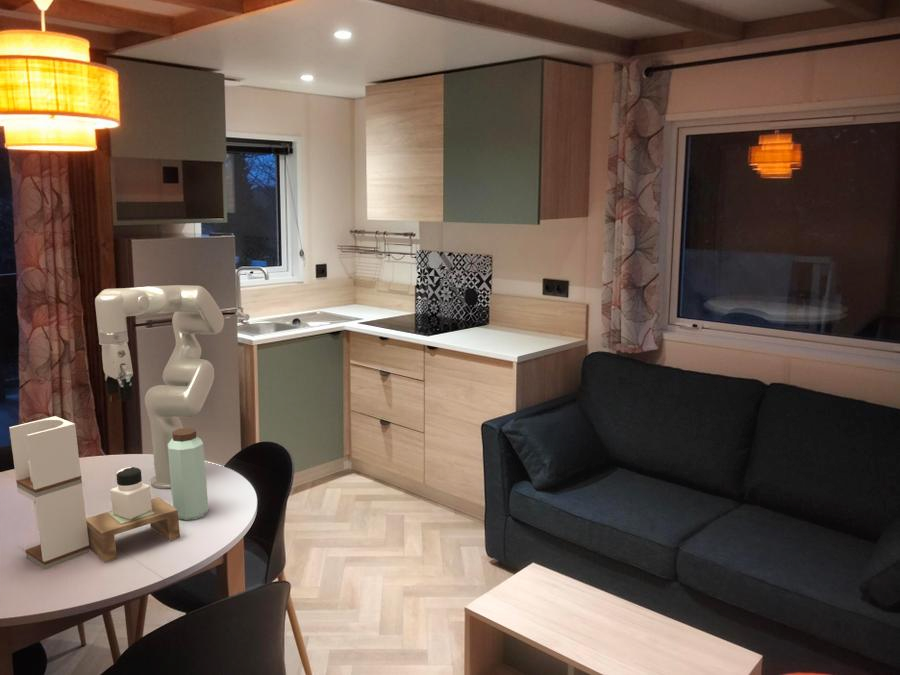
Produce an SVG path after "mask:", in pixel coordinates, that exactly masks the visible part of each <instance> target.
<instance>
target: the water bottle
mask: <svg viewBox="0 0 900 675" xmlns="http://www.w3.org/2000/svg"><path fill="white" fill-rule="evenodd" d="M204 451H205V450H204V443H203V440H202V439H201V438H200V437H198V436H197V430H196V429H195V428H193V427H183V428H182V429H177V430H175V431H173V432H172V439H171V441H170V442H169V443H168V456H169V467H170V478H171V488H170V489H171V497H172V506H173V507H174V508H176V509H177V510H178V519H179V520H182V519H184V521H191V520H190V519H192V520H196V519H195V518H198V519H200V518H201V516H202V515H203V516H205V515H206V514H207V513H208V511H209V499H208V488H207V485H208V484H207V476H206V461H205V460H206V459H205V452H204ZM205 513H206V514H205ZM204 514H205V515H204ZM203 516H202V517H203ZM199 517H200V518H199Z"/></svg>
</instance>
